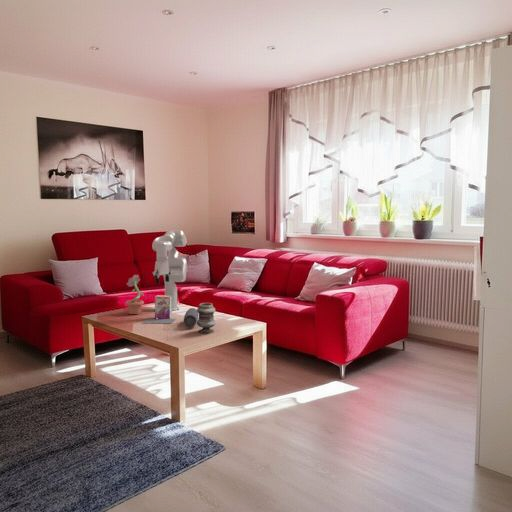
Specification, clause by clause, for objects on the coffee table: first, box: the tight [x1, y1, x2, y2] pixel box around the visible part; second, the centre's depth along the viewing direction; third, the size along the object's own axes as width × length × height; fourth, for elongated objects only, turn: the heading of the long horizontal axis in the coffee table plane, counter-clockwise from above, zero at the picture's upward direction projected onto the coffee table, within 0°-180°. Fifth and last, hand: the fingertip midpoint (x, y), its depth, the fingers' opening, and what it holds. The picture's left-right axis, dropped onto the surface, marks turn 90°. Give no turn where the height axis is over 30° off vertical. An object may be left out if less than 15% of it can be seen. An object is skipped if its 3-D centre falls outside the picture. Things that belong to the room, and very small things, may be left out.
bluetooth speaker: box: [183, 307, 199, 328], centre depth 309 cm, size 23×9×10 cm, turn 4°
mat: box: [142, 317, 177, 325], centre depth 319 cm, size 14×20×1 cm
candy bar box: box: [154, 294, 173, 319], centre depth 328 cm, size 11×5×16 cm, turn 84°
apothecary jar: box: [196, 302, 216, 334], centre depth 291 cm, size 12×12×18 cm
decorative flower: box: [124, 274, 145, 315], centre depth 341 cm, size 15×14×30 cm
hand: (162, 282), depth 328 cm, fingers open, 9 cm apart
